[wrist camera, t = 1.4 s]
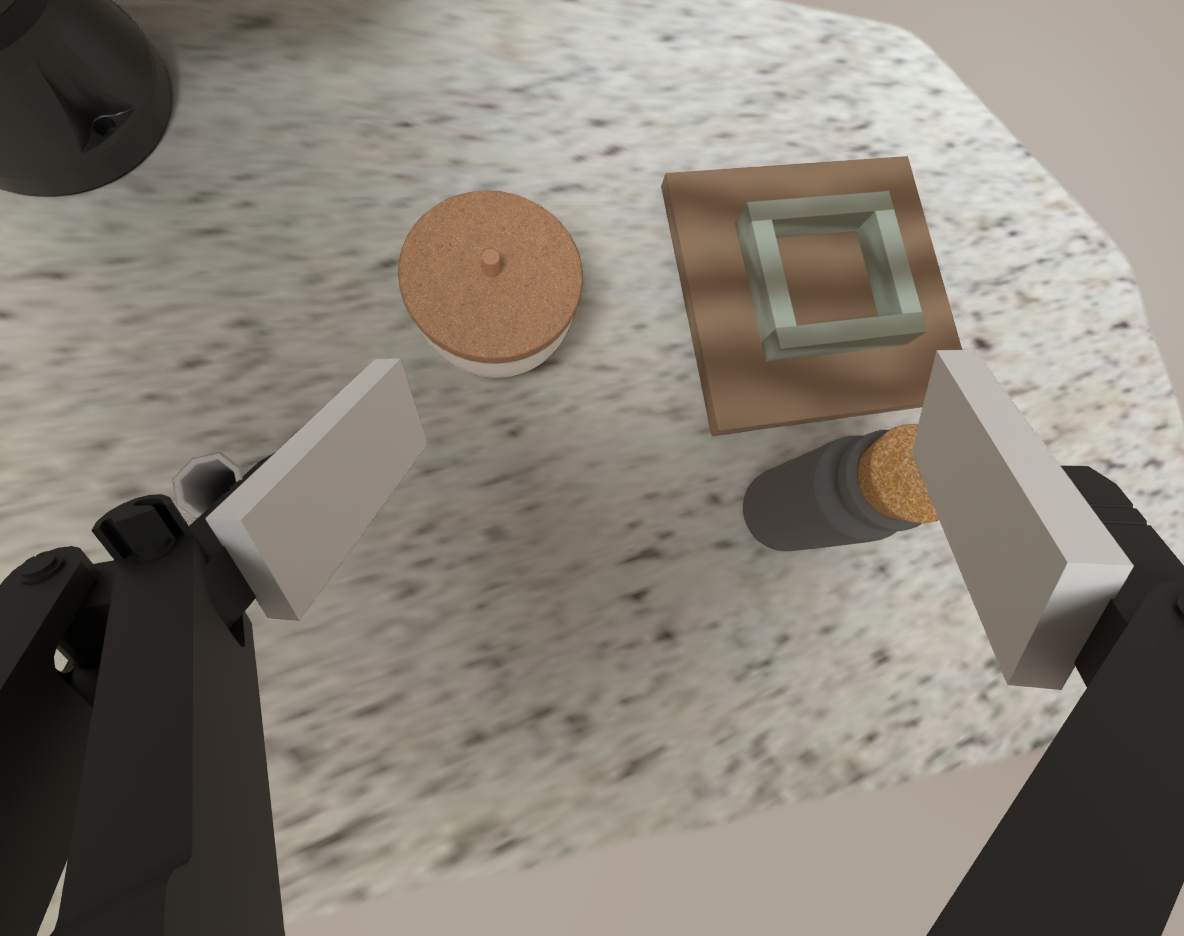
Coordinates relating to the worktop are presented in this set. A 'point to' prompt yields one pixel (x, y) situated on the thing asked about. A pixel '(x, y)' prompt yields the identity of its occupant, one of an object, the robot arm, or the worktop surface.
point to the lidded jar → (491, 282)
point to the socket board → (808, 290)
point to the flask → (206, 481)
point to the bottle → (841, 494)
